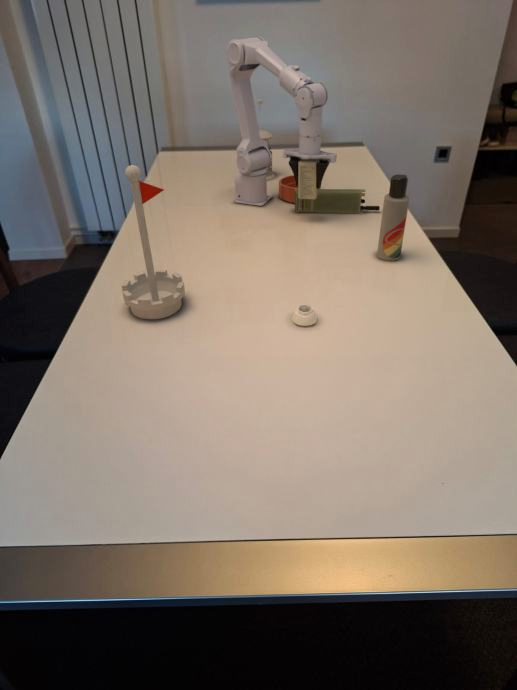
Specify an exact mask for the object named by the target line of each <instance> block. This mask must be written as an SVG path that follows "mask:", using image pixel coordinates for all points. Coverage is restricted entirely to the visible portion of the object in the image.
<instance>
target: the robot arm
mask: <svg viewBox="0 0 517 690" xmlns="http://www.w3.org/2000/svg"><path fill="white" fill-rule="evenodd" d="M269 45H270V44H269V42H268V41H266V40H265V39H264V38H263V37H262V36H254V37H249V38H240V39H237V38H236V39H235V38H234V39H231V41H229V43H228V45H227V47H226V51H225V56H226V61H227V66H228V72H229V78H230V83H231V90H232V95H233V99H234V100H233V101H234V105H235V111H236V115H237V120H238V121H237V122H238V126H239V131H240V136H241V141H240V143H239V145H238V146H237V147H236V149H235V150H236V151H235V152H236V166H237V167H236V168H237V169H238V171H237V173H236V174H235V178H234V190H235V191H234V192H235V200H234V203H235V204H243V205H250V206H257V207H263V206H264V205H265V204H267V202H269V201H270V200H271V199H272V196H271V195H268V189H267V187H268V186H267V181H268V180H266V172H267V171H268V167H270V165H271V162H272V163H273V156H272V157H271V153H270V151H271V150H270V151H269V149H268V141H267V140H266V141H265V140H263V139H262V138H260V135H259V130H260V128H259V124H258V117H257V113H256V106H255V100H254V94H253V90H252V89H253V88H252V84H251V77H252V75H253V74H254V72H255V71H256V70H257V69H258V68H259V67H260V66H262V67H263V68H264V69H266V71H268V72H270V73H271V74H272V75H274V76H275V77H277V78H278V82H279V83H278V84H279V86H280V87H281V88H282V89H283V90H284V91H286V92H287V93H288V94H289V95H290V96H291V97H293V98H294V102H295V105H296V107H297V114H298V118H299V128H298V129H299V132H298V133H299V134H298V135H299V136H298V148H285V149H283V150H282V158H283V159H287V158H288V159H289V161H288V165H289V167H290V169H291V172H292V175H294V177H295V182H296V186H298V162H299V161H300V160H301V159H306V160H316V161H319V162H318V163H317V164H316V171H317V180H316V189H319V188H320V187H321V188H322V182H323V179H324V177H325V173H326V171H327V170H328V167H329V165H330V163H331V164H335V163H336V162H337V158H338V157H337V153H335V152H329V151H324V150H321V147H322V145H321V144H322V128H323V127H322V126H323V107H324V106H325V105H326V104H327V102H328V99H329V92H328V89H327V86H326V84H324V83H323V82H322V81H313V79H312V78H311V77H310V76H307V75H306V74H305V73H304V72H302V71H301V70H300V68H301V67H299V65H297V64H296V65H294V64H290V65H287V64H286V63H285V62H284V61H283V60H282V59H281V58H280V57H279V56H278V55H277V54H276V53H275V51H273V50H272V49H271V48H270V46H269ZM254 148H256V149H255V150H251V149H254Z"/></svg>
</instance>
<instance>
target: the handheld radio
mask: <svg viewBox="0 0 517 690" xmlns="http://www.w3.org/2000/svg"><path fill="white" fill-rule="evenodd" d="M365 192H366V188H365V189H364V188H363V189H362V188H321V189H318V196H317V198H316V199H301V198H298V189H295V203H294V213H307V214H308V213H309V214H310V213H313V214H314V213H315V214H316V213H317V214H318V213H319V214H320V213H321V214H322V213H323V214H364V211H380V209H381V207H380V205H362V204H365V203H366V199H364V198H362V197H366V193H365Z"/></svg>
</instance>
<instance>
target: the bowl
mask: <svg viewBox="0 0 517 690" xmlns="http://www.w3.org/2000/svg"><path fill="white" fill-rule="evenodd" d="M295 189H298V186H296V182H295V177H294V174H291V175H286V176H284V177H282V178H280V179H279V180H278V197H279V198H280V199H281V200H283V201H285V202H287V203H290V204H291V203H293V204H295ZM319 189H322V186H321V187H320V188H319Z"/></svg>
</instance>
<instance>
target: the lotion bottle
mask: <svg viewBox="0 0 517 690" xmlns="http://www.w3.org/2000/svg"><path fill="white" fill-rule="evenodd" d="M408 182H409V178H408V176H407V174H394V175H393V176H391V177H390V183H389V190H388V193H387V194H385V195H384V196H383V197H384V198H383V204H382V211H381V212H382V213H381V219H380V220H381V221H380V228H379V236H378V243H377V252H376V255H377V257H378V258H379V259H380V260H383V261H387V262H391V261H392V262H393V261H397V260H399V259H400V257H401V255H402V249H403V243H404V236H405V230H406V229H405V228H406V223H407V217H408V209H409V204H410V197H409V196H408V194H406V193H407V188H408Z"/></svg>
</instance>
